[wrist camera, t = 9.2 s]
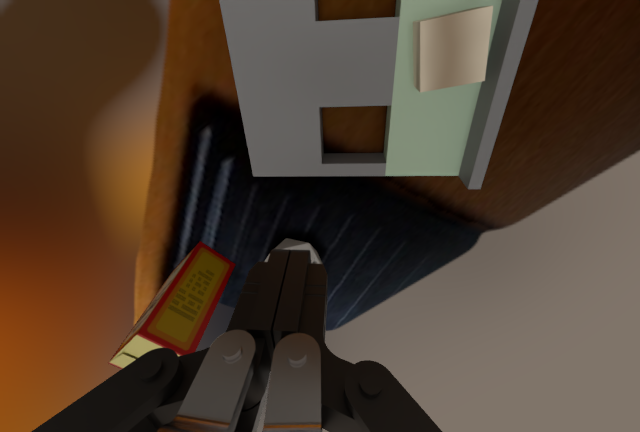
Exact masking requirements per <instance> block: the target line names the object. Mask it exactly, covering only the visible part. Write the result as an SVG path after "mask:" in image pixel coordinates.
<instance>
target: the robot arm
mask: <svg viewBox="0 0 640 432" xmlns="http://www.w3.org/2000/svg"><path fill="white" fill-rule="evenodd" d="M326 312H327V273H326V270H325V268H324V266H323V264H313V263H311V253H310V250H289V249H272V250H271V252H270V256H269V259H268V262H257V263H256V264H255V265H254V267H253V268H252V269H251V270H250V271H249V273H248V276H247V278H246V281H245V284H244V286H243V289H242V293H241V294H240V297H239V299H238V302H237V305H236V307H235V310H234V313H233V315H232V318H231V321H230V323H229V326H228V328H227V330H226V332H225V333H224V334H222V335H220V336H219V337H218V338H217V339H216V340H215V341H214V342H213V343H212V345H211V346H210V347H209V348H207V349H204V350H201V351H197V352H193V353H190V354H186V355H182V356H178V355H177V354H176V352H175V351H174V350H172V349H169V348H157V349H153V350H151V351H149V352H147V353H145V354H143V355H142V356H140V357H139V358H137V359H136V360H135V361H133V362H132V363H130V364H129V365H127V366H126V367H124V368H123V369H122V370H120V371H119V372H117V373H116V374H114V375H113V376H112V377H110V378H108V379H107V380H106V381H104V382H103V383H101V384H100V385H98V386H97V387H95V388H94V389H93V390H91V391H90V392H88V393H87V394H85V395H84V396H83V397H81V398H80V399H78V400H77V401H75V402H74V403H72V404H71V405H70V406H68V407H67V408H65V409H64V410H62V411H61V412H59V413H58V414H56V415H55V416H54V417H52V418H51V419H49V420H48V421H46V422H45V423H43V424H42V425H40V426H39V427H38V428H36V429H35V430H33V431H32V432H257V428H258V425H259V421H260V417H261V414H262V410H263V407H264V403H265V399H266V394H267V388H266V387H267V382H268V378H269V373H270V371H271V375H270V382H269V389H268V397H267V404H266V412H265V419H264V426H263V431H262V432H322V428H323V429H325V430H327V431H329V432H442V431H441V430H440V429H439V428H438V426H437V425H436V424H435V423H434V422H433V421H432V420H431V418H430V417H429V416H428V415H427V414H426V413H425V411H424V410H423V409H422V408H421V407H420V406H419V405H418V403H417V402H416V401H415V400H414V399H413V398H412V397H411V396H410V394H409V393H408V392H407V391H406V390H405V389H404V387H403V386H402V385H401V384H400V383H399V382H398V381H397V379H396V378H395V377H394V376H393V375H392V374H391V373H390V371H389V370H388V369H387V368H386V367H384V366H383V365H381V364H379V363H377V362H374V361H360V362H358V363H356V364H352V363H350V362H348V361H345V360H343V359H340V358H338V357H337V356H335V355H334V354H333V353H332V352H330V350H329V349H328V348H327V346H326V344H325V329H326Z"/></svg>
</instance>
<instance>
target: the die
mask: <svg viewBox="0 0 640 432" xmlns="http://www.w3.org/2000/svg"><path fill="white" fill-rule="evenodd" d="M275 249H289V250H310V253H311V263H313V264H322V262H321V260H320V257H319V255H318V253H317V251H316V250H315V249H314V248H313V247H312V246H311V245H310V243H307V242H302V241H297V240H293V239H288V238H286V239H285V240H284V241H282V242H281V243H280V244H279V245H278V246H277V247H276V248H275ZM269 256H270V254H269ZM269 256H268V257H267V258H266V260H265V261H264V262H268V259H269Z"/></svg>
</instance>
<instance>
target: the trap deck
mask: <svg viewBox="0 0 640 432" xmlns="http://www.w3.org/2000/svg"><path fill="white" fill-rule="evenodd" d="M219 1H220V6H221V11H222V17H223V22H224V27H225V32H226V37H227V43H228V48H229V53H230V58H231V63H232V68H233V74H234V79H235V84H236V89H237V94H238V99H239V105H240V110H241V115H242V120H243V125H244V131H245V136H246V141H247V146H248V151H249V156H250V162H251V167H252V172H253V176H459V177H460V179H461V180H462V182H463V183H464V184H465V186H466V187H467V189H481V186H482V183H483V179H484V176H485V173H486V170H487V166H488V163H489V160H490V156H491V153H492V150H493V147H494V143H495V140H496V137H497V134H498V130H499V127H500V124H501V121H502V117H503V114H504V111H505V108H506V104H507V101H508V98H509V94H510V91H511V88H512V85H513V81H514V78H515V75H516V72H517V68H518V65H519V62H520V59H521V55H522V52H523V49H524V46H525V42H526V39H527V36H528V33H529V29H530V26H531V23H532V19H533V16H534V13H535V10H536V6H537V3H538V0H396V10H395V17H386V18H368V19H349V20H331V21H318V0H219ZM484 6H493V13H492V22H491V30H490V39H489V48H488V57H487V66H486V75H485V81H482V82H476V83H471V84H465V85H460V86H454V87H448V88H443V89H437V90H432V91H426V92H421V93H420V92H419V91H418V90H417V89H416V88H415V87H414V77H413V21H418V20H422V19H427V18H431V17H436V16H440V15H445V14H449V13H454V12H458V11H463V10H467V9H472V8H476V7H484ZM386 105H387V117H386V129H385V141H384V153H324V150H323V124H322V107H348V106H386Z"/></svg>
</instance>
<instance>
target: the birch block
mask: <svg viewBox="0 0 640 432" xmlns="http://www.w3.org/2000/svg"><path fill="white" fill-rule="evenodd" d="M492 13H493V6H484V7H476V8H472V9H467V10H463V11H458V12H454V13H449V14H445V15H440V16H436V17H431V18H427V19H422V20H418V21H413V77H414V87H415V88H416V89H417V90H418V91H419V92H420V93H421V92H426V91H432V90H437V89H443V88H448V87H454V86H460V85H465V84H471V83H476V82H482V81H485V75H486V66H487V57H488V48H489V39H490V30H491V22H492Z"/></svg>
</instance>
